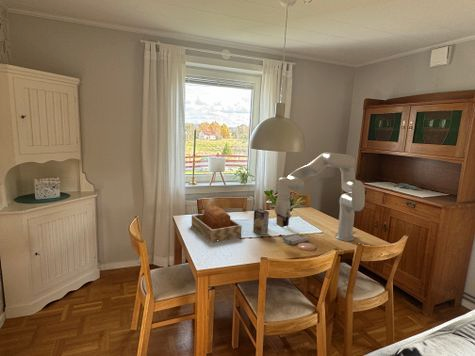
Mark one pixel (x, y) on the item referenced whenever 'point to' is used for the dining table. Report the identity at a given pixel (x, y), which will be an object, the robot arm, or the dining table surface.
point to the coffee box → (260, 221)
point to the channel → (296, 239)
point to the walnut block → (280, 221)
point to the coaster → (306, 246)
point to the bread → (216, 218)
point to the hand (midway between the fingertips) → (282, 224)
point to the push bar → (291, 238)
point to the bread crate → (216, 233)
